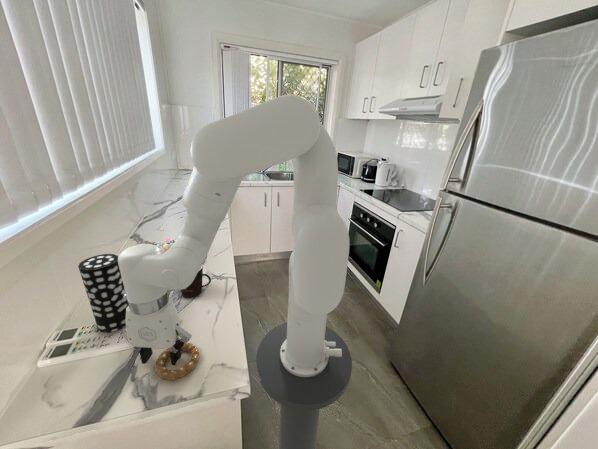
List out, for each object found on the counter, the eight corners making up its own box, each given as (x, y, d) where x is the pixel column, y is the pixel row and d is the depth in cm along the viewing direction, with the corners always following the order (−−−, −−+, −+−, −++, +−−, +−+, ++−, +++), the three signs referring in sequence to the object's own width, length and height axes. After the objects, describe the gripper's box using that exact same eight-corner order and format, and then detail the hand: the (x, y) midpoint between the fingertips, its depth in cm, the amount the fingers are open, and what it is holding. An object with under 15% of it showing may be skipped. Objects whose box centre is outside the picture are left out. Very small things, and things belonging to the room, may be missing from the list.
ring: (205, 347, 64) (204, 342, 63) (189, 382, 55) (188, 376, 54) (169, 345, 64) (168, 340, 63) (147, 380, 55) (145, 374, 54)
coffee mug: (174, 292, 84) (170, 267, 81) (197, 282, 90) (195, 258, 87) (190, 308, 77) (186, 282, 74) (214, 296, 83) (212, 271, 80)
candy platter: (208, 266, 101) (207, 246, 97) (142, 280, 90) (137, 258, 86) (199, 242, 121) (197, 225, 117) (144, 251, 110) (140, 232, 106)
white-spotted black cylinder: (100, 317, 72) (81, 257, 65) (133, 308, 76) (119, 251, 69) (95, 336, 65) (74, 273, 58) (132, 326, 69) (117, 265, 62)
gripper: (96, 309, 49) (115, 372, 56) (181, 313, 49) (190, 375, 56) (121, 287, 56) (136, 345, 63) (196, 291, 56) (203, 348, 63)
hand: (162, 359), depth 59 cm, fingers open, 6 cm apart
